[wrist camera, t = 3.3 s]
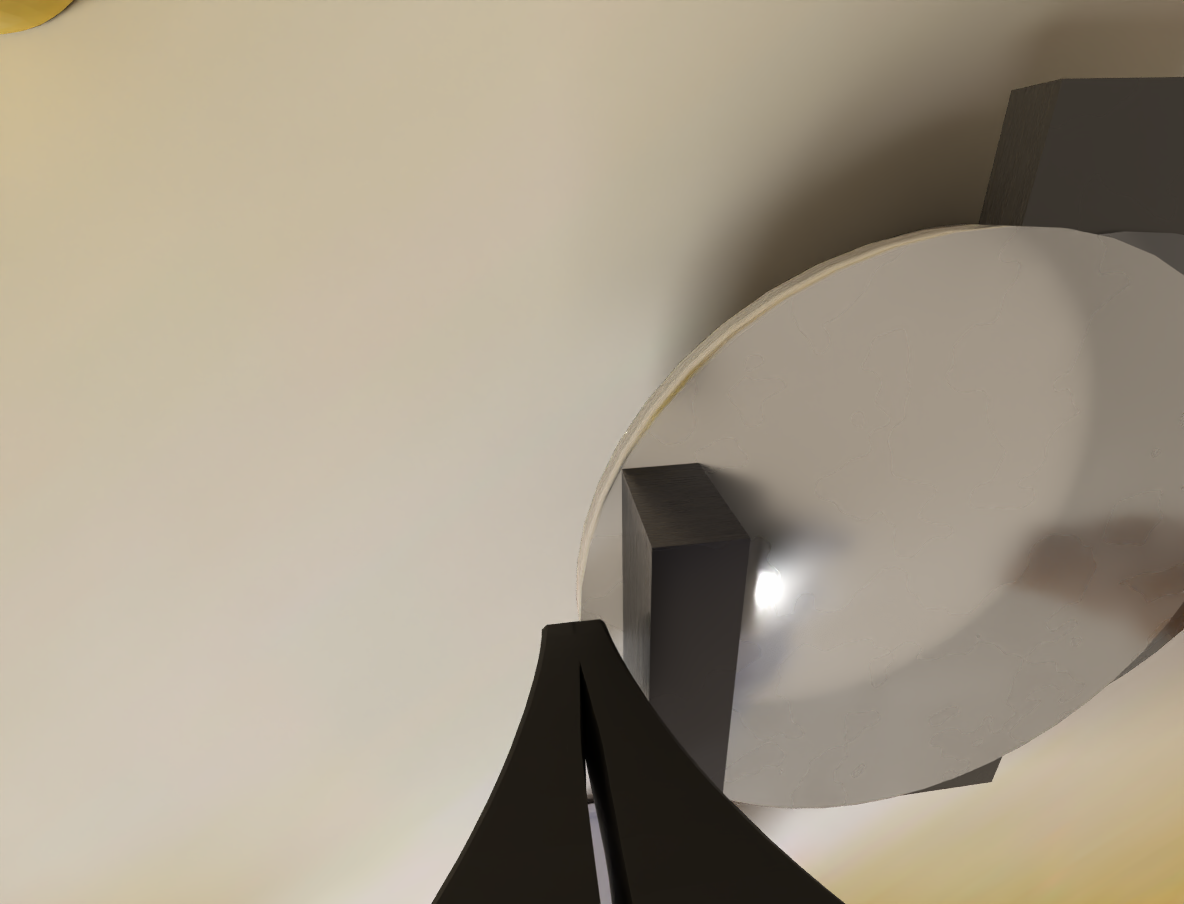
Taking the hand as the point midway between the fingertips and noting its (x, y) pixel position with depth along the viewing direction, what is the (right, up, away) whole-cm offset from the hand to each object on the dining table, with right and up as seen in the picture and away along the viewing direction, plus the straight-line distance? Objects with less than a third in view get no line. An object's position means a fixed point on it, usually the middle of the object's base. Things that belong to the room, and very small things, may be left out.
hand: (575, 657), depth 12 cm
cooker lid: (+8, +1, +3) cm, 9 cm away
